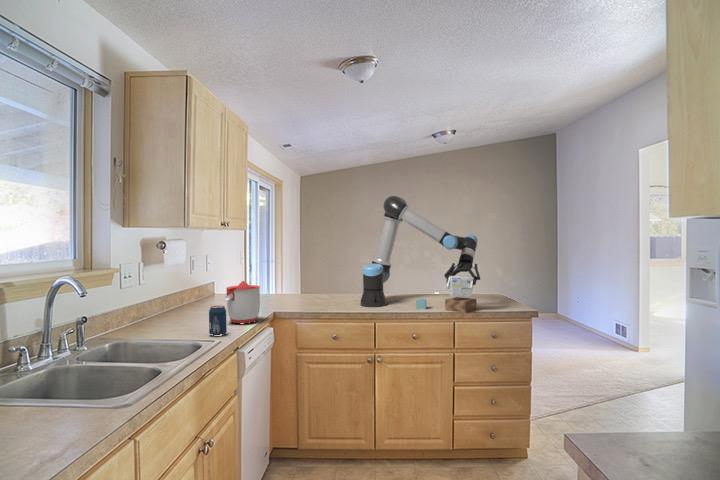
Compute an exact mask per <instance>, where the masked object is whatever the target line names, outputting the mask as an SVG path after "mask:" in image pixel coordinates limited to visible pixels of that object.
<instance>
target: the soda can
mask: <svg viewBox="0 0 720 480" xmlns="http://www.w3.org/2000/svg"><path fill="white" fill-rule="evenodd" d="M227 329H228V328H227V309H226V307H225V305H213V306H210V308H209V310H208V332H209V335H210V334H213V335H220V334H225V333H226V334H227ZM226 334H225V335H226Z"/></svg>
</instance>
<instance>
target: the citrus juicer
mask: <svg viewBox="0 0 720 480" xmlns="http://www.w3.org/2000/svg"><path fill="white" fill-rule="evenodd" d="M260 289H261V286H260V285H255V284H251V285H250V284H249V283H247V281H245V280H242V281H241V282H240V283H239V284H238V285H232V286H227V287H226V296H225V297H223V298H224V301H226V302H227V303H226V307H227V314H228V316H229V317H228V318H229V320H230V323H232V322H233V323H232V324H234V323H248V324H250V323H249V322H253V323H255V322H254V321H256V320H257V321H258V319H259V314H260V308H261V307H260V306H261V300H260V299H261V298H260V297H261V294H260V293H261V291H260ZM257 321H256V322H257Z"/></svg>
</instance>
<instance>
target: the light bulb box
mask: <svg viewBox="0 0 720 480" xmlns="http://www.w3.org/2000/svg"><path fill="white" fill-rule="evenodd" d="M471 281H472V276H471V275H455V276H450V288H449V291H450V292H449V293H450V294H449V295H450V297H451V298H454V297H462V298H472V291H471V289H470V285H471Z"/></svg>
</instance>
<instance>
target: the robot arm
mask: <svg viewBox="0 0 720 480" xmlns="http://www.w3.org/2000/svg"><path fill="white" fill-rule="evenodd" d="M383 210H384V215H383V218H384V219H385V221H384V225H383V228H382V232H381V237H380V241H379V244H378V248H377V252H376V256H375V258H374V259H372V261H371V263H367V264H365V265H363V267H362V283H363V285H362V288H363V291H362V295H361V299H360V303H359V304H360V306H361V305H362V307H367V308H368V307H369V308H370V307H371V308H379V307H384V306H387V298H386V296H385V293H384V283H386V282H387V281H388V280H389V278H390V276H391V272H390V271H391V267H392V264H391V262H390V261H391V257H392V252H393V248H394V244H395V241H396V238H397V235H398V230H399V227H400V224H401V223H402V222H405V223H407V224H408V225H410V226H412V227H413V228H414V229H416V230H418V231H419V232H421V233H422V234H425V235H426V236H427V237H429V238H431V240H434V241H435V242H437V243H438V244H440V245H441V246H442V247H444V248H445V249H446V250H448V251H449V250H450V251H451V250H459V251H461V252H460V254H459V255H460V256H459V259H458V262H457V263H454V262H452V264H451V266H450V267H449V269H448V270H447V271H446V272H445V274H443V275H444V278H445V279H446V281H445V283H446V289H447V290H450V276H457V274H459V273H461V272H462V273H463V272H465V273H467V272H468V274H470V277H471V285H470V289H471V292H472V291H473V290H474V286H476V285H477V281H481V276H480V273H479V269H478V268H479V266H478V264H477V263H474V259H475V253H476V250H477V245H478V238H477V236H475V235H474V234H467V235H465V237H464V236H459V235H453V234H451V233H449V232H447V231H446V230H444V229H443V228H441V227H440V226H438V225H436V224H435V223H433V222H432V221H430V220H428V219H427V218H425V217H424V216H422V215H421V214H419V213H417V212H416V211H414V210H412V209H411V208H410V207H409V206H408V204H407V202H406V200H405V199H404V198H403V197H400V196H397V195H391V196H388V197H387V198H385V199H384V202H383ZM473 263H474V264H473ZM472 269H474V271H475V273H474V272H473V271H472Z"/></svg>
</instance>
